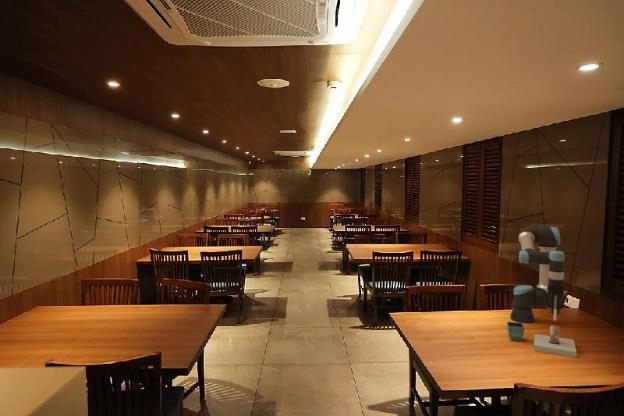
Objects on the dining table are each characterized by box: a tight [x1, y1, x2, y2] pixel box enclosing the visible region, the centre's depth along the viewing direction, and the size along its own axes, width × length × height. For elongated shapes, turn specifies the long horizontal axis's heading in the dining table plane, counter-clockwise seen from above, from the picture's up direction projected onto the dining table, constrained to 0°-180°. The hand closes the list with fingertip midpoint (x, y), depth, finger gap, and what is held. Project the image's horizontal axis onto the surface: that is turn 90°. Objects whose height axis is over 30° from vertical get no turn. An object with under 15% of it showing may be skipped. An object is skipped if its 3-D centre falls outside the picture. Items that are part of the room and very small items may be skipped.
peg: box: [549, 325, 560, 345], centre depth 235 cm, size 4×4×12 cm
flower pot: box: [506, 321, 526, 342], centre depth 248 cm, size 9×9×9 cm
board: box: [533, 333, 577, 358], centre depth 235 cm, size 20×20×3 cm
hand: (554, 319), depth 234 cm, fingers closed
